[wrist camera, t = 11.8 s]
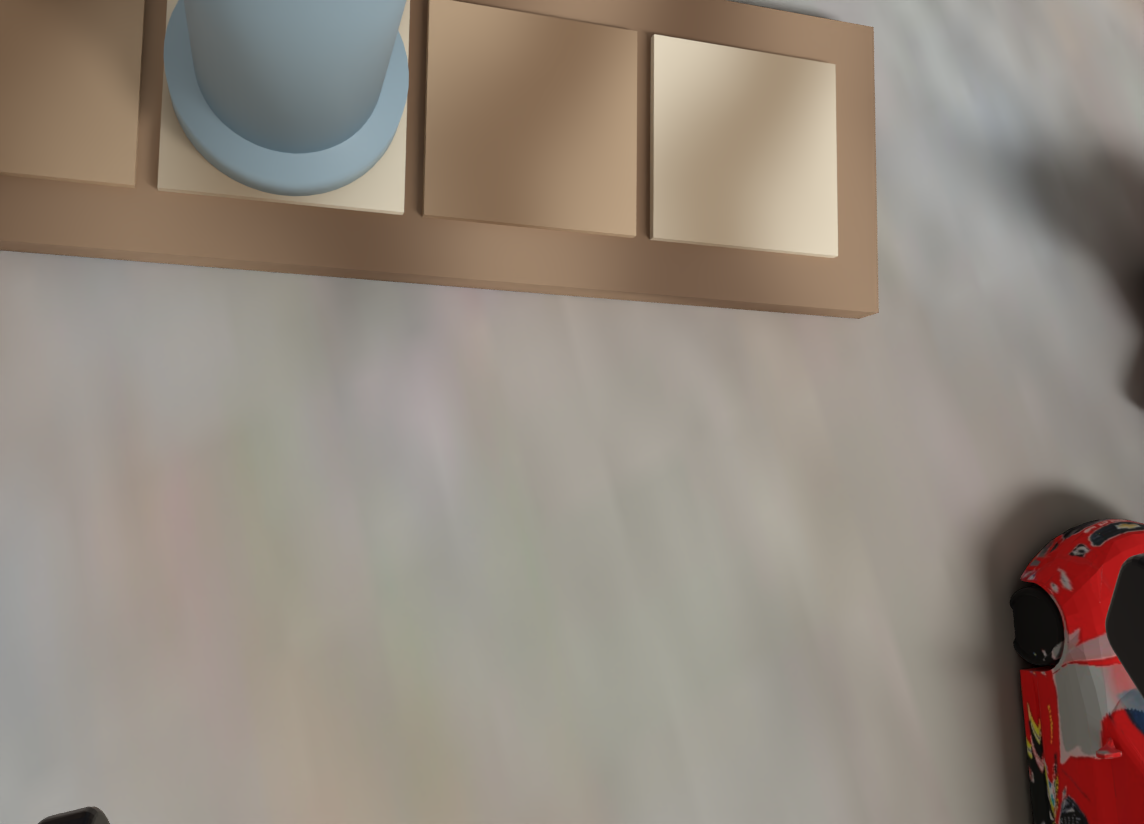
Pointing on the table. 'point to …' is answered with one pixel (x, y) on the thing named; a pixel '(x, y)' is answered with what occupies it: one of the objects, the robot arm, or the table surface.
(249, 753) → the table surface
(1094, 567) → the race car
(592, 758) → the table surface
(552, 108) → the board
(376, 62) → the pawn
